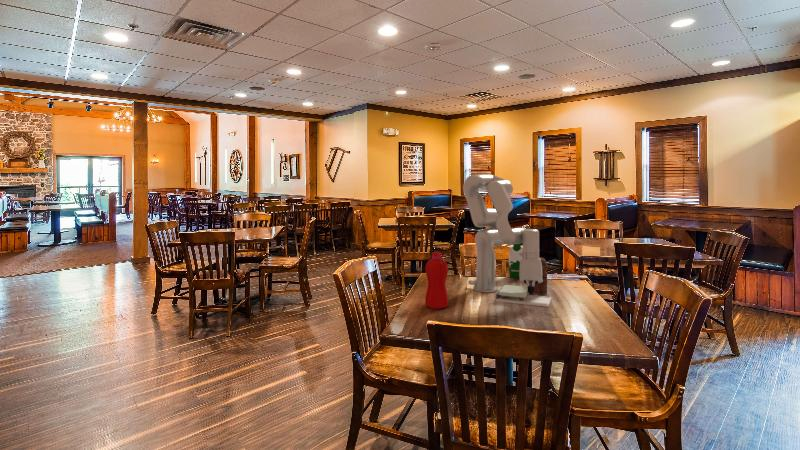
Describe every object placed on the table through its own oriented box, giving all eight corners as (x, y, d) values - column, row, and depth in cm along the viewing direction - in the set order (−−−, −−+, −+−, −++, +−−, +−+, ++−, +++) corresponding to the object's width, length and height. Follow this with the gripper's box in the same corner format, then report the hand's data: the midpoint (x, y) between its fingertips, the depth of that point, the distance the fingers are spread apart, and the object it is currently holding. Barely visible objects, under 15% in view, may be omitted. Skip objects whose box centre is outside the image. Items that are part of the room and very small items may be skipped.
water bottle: (435, 311, 195) (435, 255, 192) (422, 305, 205) (422, 251, 202) (452, 308, 199) (453, 253, 196) (439, 302, 209) (439, 249, 206)
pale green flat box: (498, 298, 210) (499, 291, 209) (504, 291, 222) (504, 284, 222) (525, 301, 205) (525, 294, 204) (529, 293, 217) (529, 287, 217)
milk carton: (508, 278, 256) (508, 243, 254) (509, 274, 265) (510, 241, 262) (523, 279, 253) (524, 244, 251) (524, 275, 262) (525, 242, 259)
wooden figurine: (551, 294, 221) (552, 259, 219) (540, 296, 219) (541, 260, 217) (537, 289, 232) (538, 255, 230) (526, 290, 230) (527, 255, 228)
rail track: (495, 300, 211) (495, 293, 210) (500, 294, 223) (500, 287, 222) (548, 306, 201) (548, 299, 201) (551, 299, 213) (551, 292, 213)
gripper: (513, 256, 208) (513, 295, 209) (546, 257, 202) (546, 297, 203) (515, 253, 214) (516, 291, 216) (548, 254, 208) (548, 293, 210)
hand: (531, 294), depth 210 cm, fingers closed
